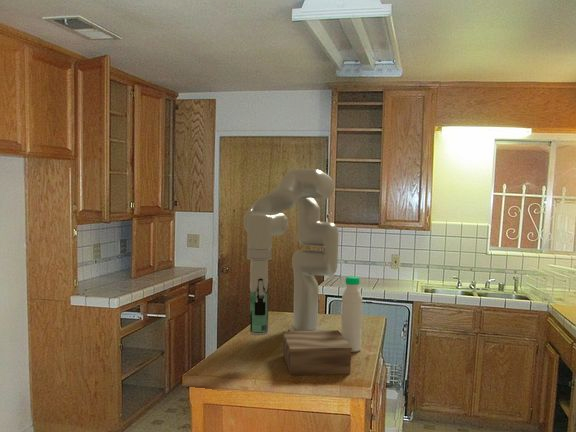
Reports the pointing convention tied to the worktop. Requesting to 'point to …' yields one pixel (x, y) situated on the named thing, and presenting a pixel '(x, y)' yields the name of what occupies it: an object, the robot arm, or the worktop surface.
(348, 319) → the water bottle
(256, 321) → the spray can
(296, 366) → the brown wooden block
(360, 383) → the worktop surface
